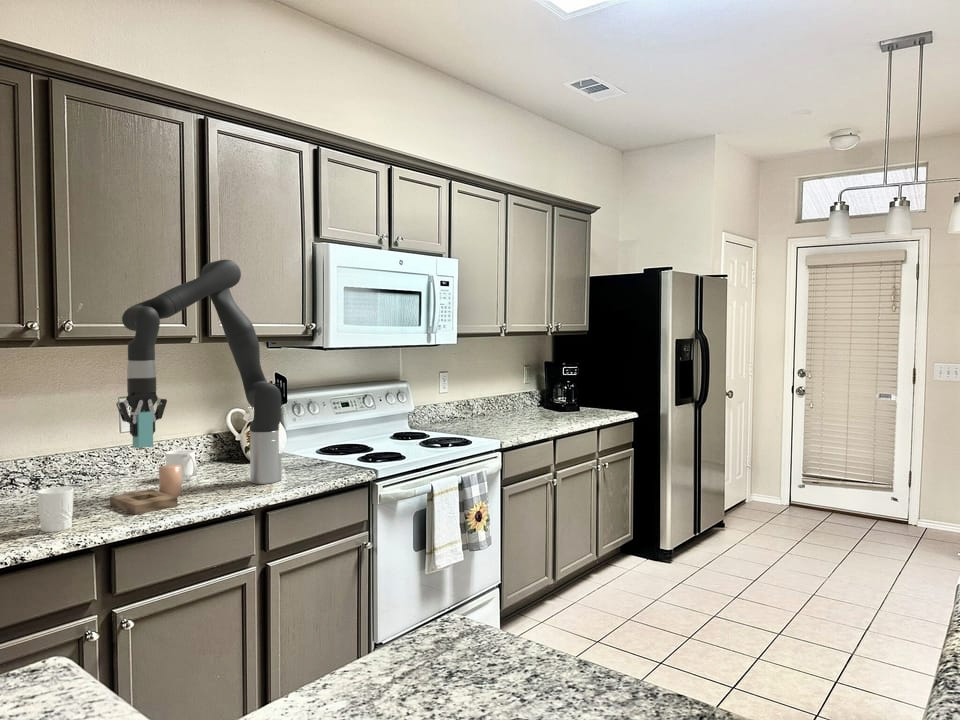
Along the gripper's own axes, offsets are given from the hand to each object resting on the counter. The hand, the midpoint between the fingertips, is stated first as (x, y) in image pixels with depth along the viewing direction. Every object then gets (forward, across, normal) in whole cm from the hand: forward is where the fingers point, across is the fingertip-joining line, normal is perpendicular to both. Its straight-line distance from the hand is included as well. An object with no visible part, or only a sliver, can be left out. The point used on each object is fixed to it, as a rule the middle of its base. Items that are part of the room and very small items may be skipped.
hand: (142, 435), depth 199 cm
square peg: (+3, 0, 0) cm, 3 cm away
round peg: (+21, -11, -6) cm, 24 cm away
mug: (+21, -25, -25) cm, 41 cm away
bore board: (+21, 0, 0) cm, 21 cm away
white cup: (+21, +25, +6) cm, 33 cm away
